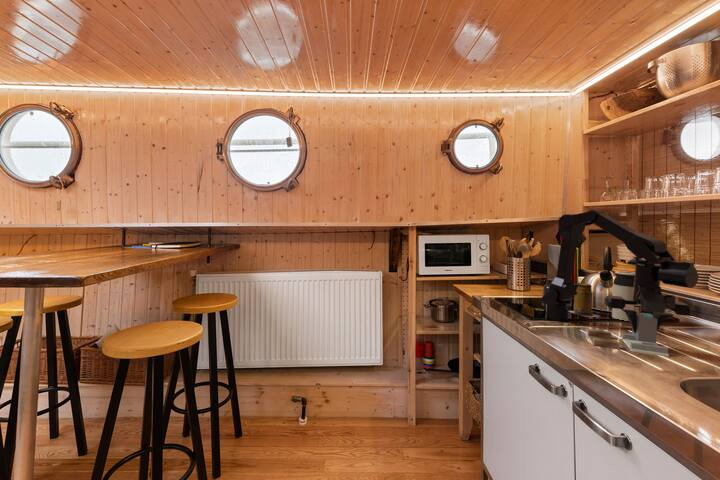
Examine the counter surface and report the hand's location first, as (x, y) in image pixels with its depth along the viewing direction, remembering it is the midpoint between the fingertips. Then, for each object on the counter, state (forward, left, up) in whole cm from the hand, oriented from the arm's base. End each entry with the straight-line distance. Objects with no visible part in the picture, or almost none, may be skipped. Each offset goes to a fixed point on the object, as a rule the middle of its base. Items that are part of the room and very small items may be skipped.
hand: (643, 333), depth 98 cm
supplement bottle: (-21, +42, -4) cm, 47 cm away
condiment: (-10, +35, -4) cm, 37 cm away
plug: (0, 0, -2) cm, 2 cm away
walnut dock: (-10, 0, -4) cm, 11 cm away
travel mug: (+3, +34, -4) cm, 34 cm away
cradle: (0, 0, -4) cm, 4 cm away
